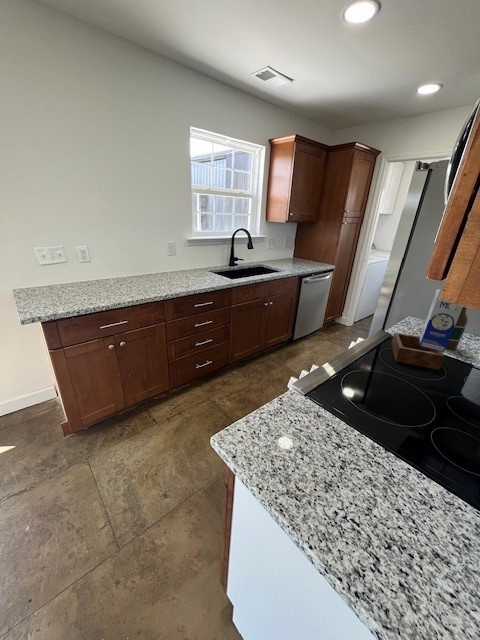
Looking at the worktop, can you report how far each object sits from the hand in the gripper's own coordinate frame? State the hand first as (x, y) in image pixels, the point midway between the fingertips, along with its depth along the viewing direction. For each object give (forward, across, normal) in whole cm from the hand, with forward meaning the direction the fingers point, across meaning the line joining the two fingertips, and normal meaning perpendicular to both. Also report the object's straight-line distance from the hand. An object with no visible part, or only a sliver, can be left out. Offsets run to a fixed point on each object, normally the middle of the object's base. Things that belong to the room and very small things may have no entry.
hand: (445, 303), depth 83 cm
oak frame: (+19, -14, +20) cm, 31 cm away
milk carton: (+10, 0, +11) cm, 15 cm away
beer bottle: (+8, -30, +31) cm, 44 cm away
